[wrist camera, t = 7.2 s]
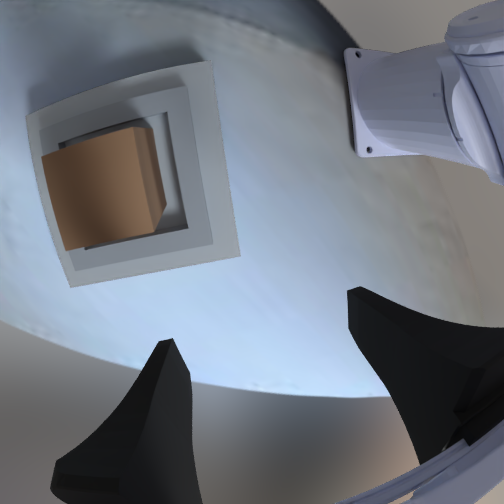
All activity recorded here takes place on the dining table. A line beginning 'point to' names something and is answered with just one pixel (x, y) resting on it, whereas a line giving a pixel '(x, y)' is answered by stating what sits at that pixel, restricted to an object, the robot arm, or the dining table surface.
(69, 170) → the walnut block
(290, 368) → the dining table surface
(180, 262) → the grey square tray
